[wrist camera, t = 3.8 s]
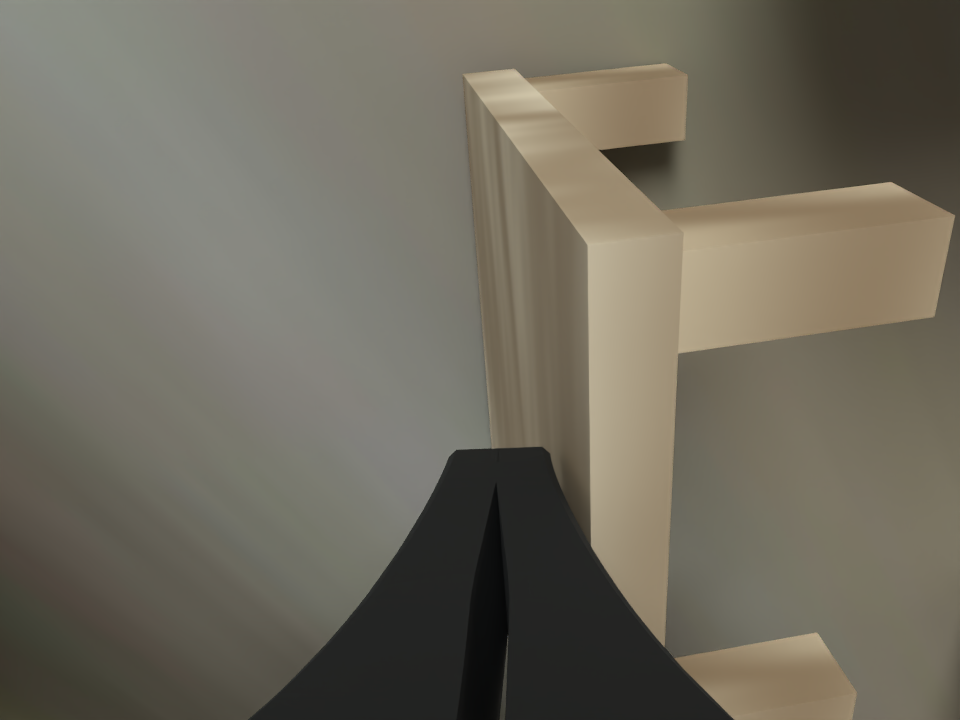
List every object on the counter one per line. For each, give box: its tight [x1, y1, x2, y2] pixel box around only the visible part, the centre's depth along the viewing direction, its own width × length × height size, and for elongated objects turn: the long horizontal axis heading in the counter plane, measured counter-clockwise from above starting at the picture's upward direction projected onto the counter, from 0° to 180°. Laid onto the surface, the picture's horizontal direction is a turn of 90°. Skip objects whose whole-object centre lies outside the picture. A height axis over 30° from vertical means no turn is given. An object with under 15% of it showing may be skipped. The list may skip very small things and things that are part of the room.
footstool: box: [463, 63, 955, 720], centre depth 15 cm, size 4×9×9 cm, turn 4°
